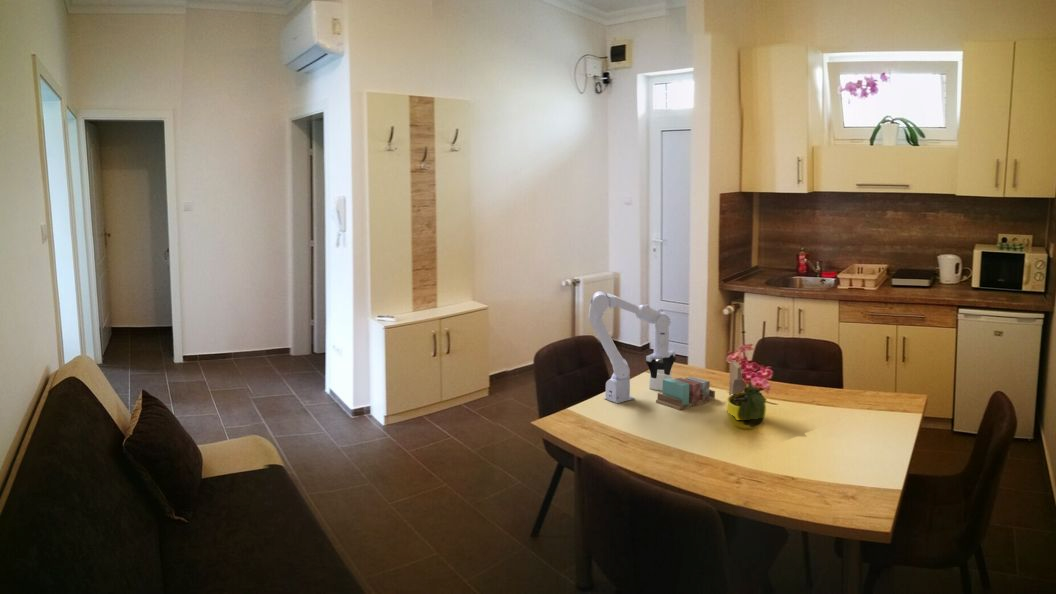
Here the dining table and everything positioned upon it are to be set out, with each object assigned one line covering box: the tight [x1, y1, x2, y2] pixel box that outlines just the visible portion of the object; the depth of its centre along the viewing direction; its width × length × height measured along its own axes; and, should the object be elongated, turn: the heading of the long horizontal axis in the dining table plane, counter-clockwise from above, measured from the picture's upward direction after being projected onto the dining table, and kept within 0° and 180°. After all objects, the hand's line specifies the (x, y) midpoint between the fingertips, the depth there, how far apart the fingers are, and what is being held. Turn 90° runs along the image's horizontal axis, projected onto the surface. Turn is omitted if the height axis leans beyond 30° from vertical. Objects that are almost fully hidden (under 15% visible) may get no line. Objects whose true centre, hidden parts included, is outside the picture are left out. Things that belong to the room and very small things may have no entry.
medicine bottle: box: [648, 358, 672, 391], centre depth 298 cm, size 7×7×12 cm
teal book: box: [661, 377, 689, 406], centre depth 277 cm, size 4×10×8 cm, turn 37°
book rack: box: [655, 375, 716, 411], centre depth 281 cm, size 21×12×8 cm, turn 127°
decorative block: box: [728, 359, 746, 396], centre depth 262 cm, size 11×6×20 cm, turn 177°
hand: (660, 376), depth 283 cm, fingers open, 7 cm apart
